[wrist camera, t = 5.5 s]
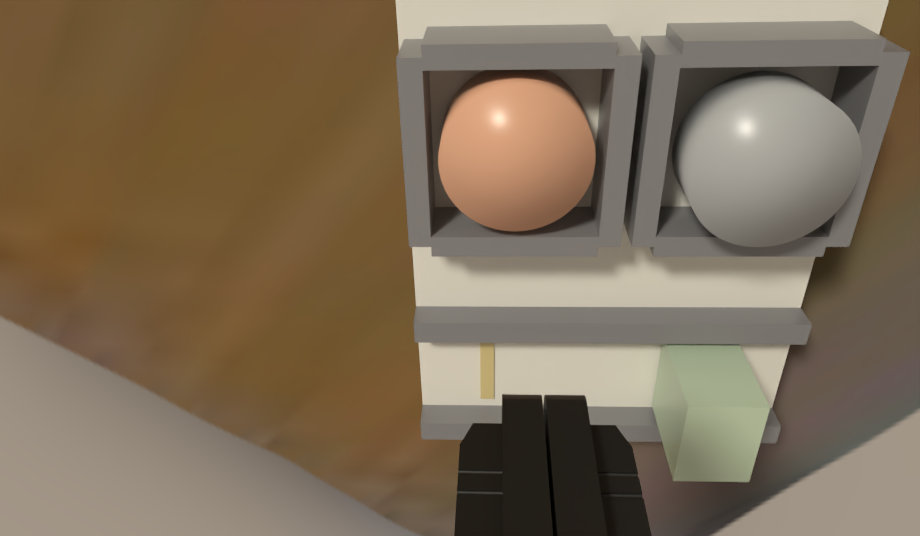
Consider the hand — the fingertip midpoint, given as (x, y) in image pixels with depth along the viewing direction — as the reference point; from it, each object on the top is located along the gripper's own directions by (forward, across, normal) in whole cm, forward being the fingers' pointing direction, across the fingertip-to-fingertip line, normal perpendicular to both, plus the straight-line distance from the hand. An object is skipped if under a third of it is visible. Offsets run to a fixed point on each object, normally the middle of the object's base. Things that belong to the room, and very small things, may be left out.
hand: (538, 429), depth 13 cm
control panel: (+18, -4, +5) cm, 19 cm away
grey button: (+14, -8, 0) cm, 16 cm away
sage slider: (+15, -8, +11) cm, 20 cm away
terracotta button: (+15, 0, 0) cm, 15 cm away
